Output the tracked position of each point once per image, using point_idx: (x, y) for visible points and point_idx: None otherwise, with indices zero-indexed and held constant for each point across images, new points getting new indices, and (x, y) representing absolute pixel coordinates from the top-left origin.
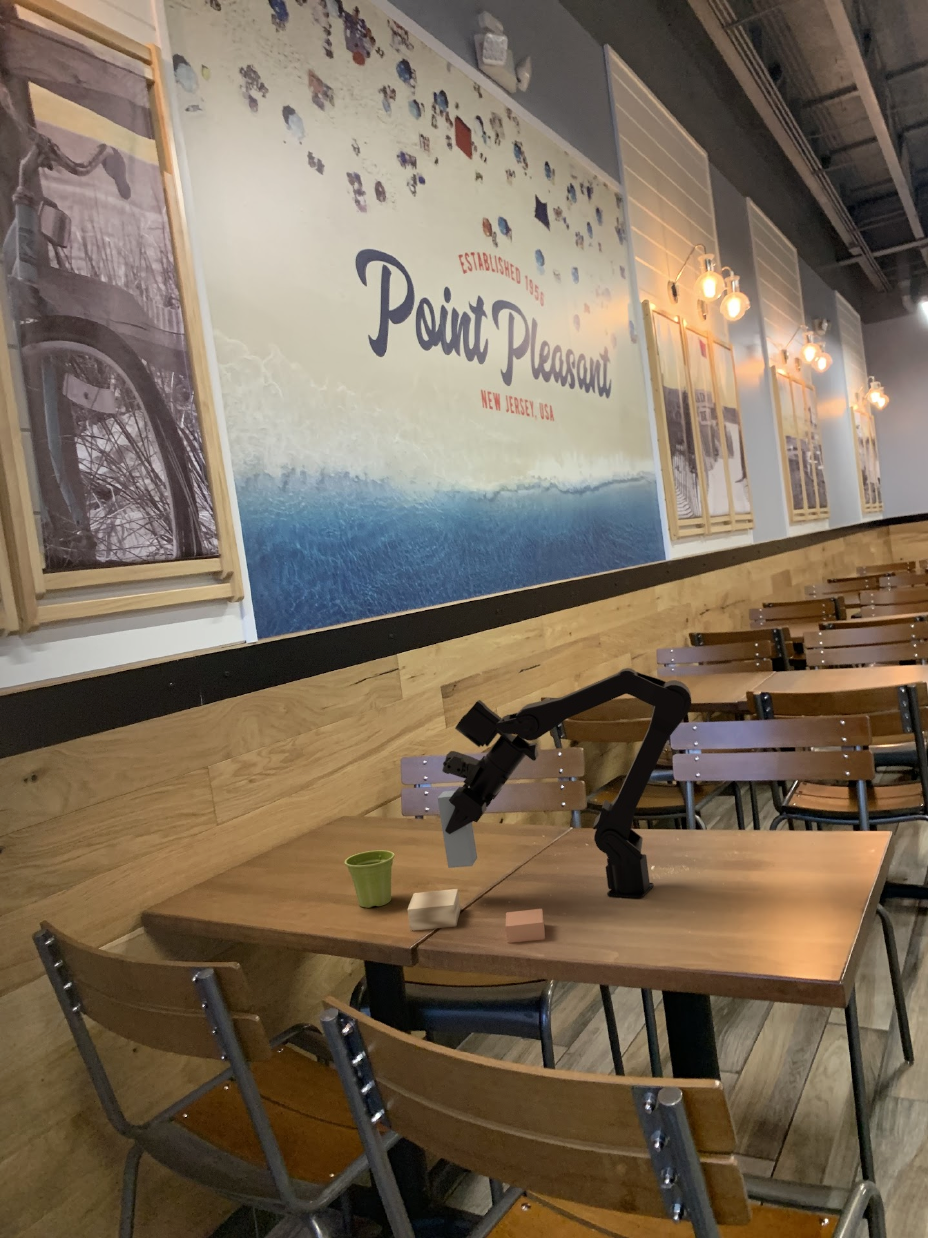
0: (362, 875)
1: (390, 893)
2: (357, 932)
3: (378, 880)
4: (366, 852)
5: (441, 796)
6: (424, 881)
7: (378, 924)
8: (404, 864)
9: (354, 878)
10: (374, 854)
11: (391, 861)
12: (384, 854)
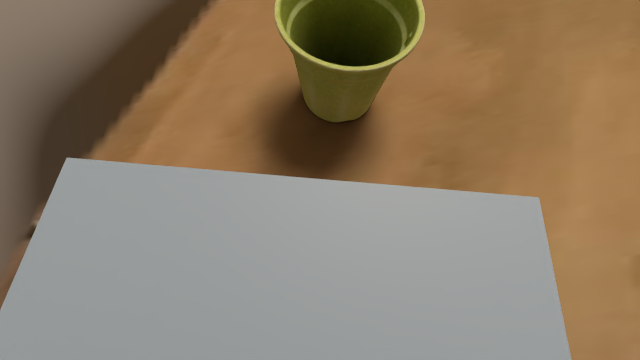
0: (290, 26)
1: (338, 115)
2: (173, 94)
3: (301, 72)
4: None
5: (118, 223)
6: (464, 175)
7: (204, 125)
8: (587, 106)
9: (306, 15)
10: (413, 17)
11: (344, 74)
12: (409, 42)
